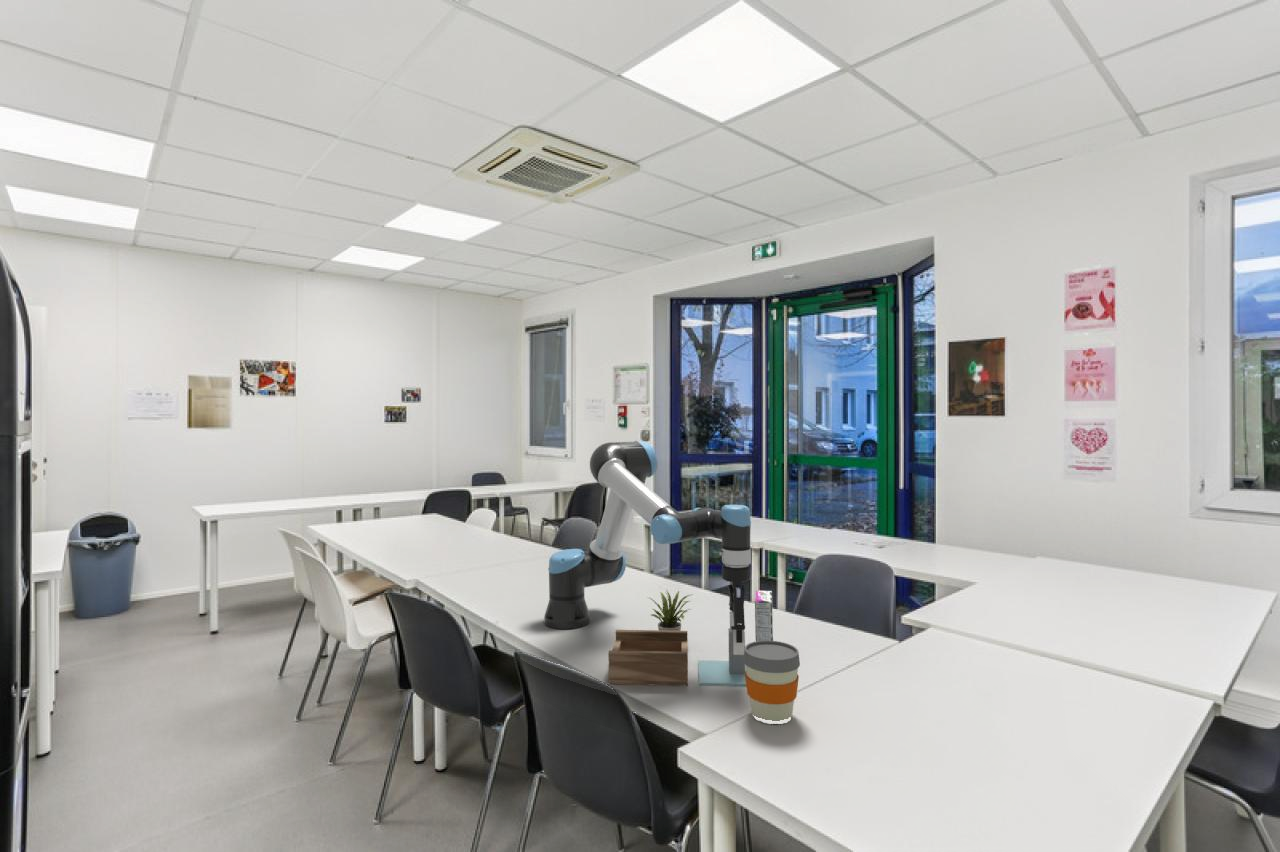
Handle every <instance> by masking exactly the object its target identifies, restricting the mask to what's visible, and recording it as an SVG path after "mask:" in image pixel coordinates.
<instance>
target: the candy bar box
mask: <svg viewBox="0 0 1280 852" xmlns="http://www.w3.org/2000/svg"><path fill="white" fill-rule="evenodd" d="M773 615H774V613H773V591H772V590H756V591H755V599H754V619H755V620H754V621H755V622H754V623H755V626H754V627H755V642H756V641H774V627H773V626H774V625H773V623H774V622H773V621H774V618H773Z"/></svg>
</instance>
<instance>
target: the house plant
mask: <svg viewBox="0 0 1280 852" xmlns="http://www.w3.org/2000/svg"><path fill="white" fill-rule="evenodd" d="M665 590H666V591H665V594H666V596H665V594H664V593H663V592H660V596H661V600H662V601H661V602H662V607H661V605H660V604H659V603H657V601H655V600H654V599H653V598H651V597H648V596H647V598H648V599H649V600H650V601H652V602H654V603H655V605H656V606H657V607H658V609H659V610H660V611H658V610H656V609H655V608H652V610H653V611H654V612H655V614H653V613H652V614H650V616H651V617H655V618H657V619H658V620H659V621H660V622H658V623H657V630H662V631H682V620H684V619H685V615H684V614H685V613H689V612H688V611H690V610H691V608H688V609H686V610H684V609H682V608H683V607H684V606H685V605H686V604H687V603H689V602H690V600H685V599H687V598H688V597H690V596H694V594H687V595H685V596H684V597H682V598H681V599H680V601H679V602H678V599H679V595H680V590H678V591H677V592H676V593H675V596H674V598H673V599H672V598H671V594H670V593H669V591H668V590H667V589H665ZM666 597H667V598H666ZM677 602H678V603H677ZM682 603H683V604H682ZM681 604H682V605H681ZM679 607H680V608H679ZM677 610H678V611H677ZM680 613H681V614H680ZM679 614H680V615H679ZM678 615H679V616H678ZM680 618H681V619H682V620H681V619H680Z"/></svg>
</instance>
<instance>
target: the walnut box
mask: <svg viewBox="0 0 1280 852" xmlns="http://www.w3.org/2000/svg"><path fill="white" fill-rule="evenodd" d="M688 642H689V641H688V630H681V631H662V630H658V629H657V630H653V629H651V630H650V629H649V630H648V629H616V630H615V640H614V643H613V647H612V650H610V649H609V651H608V681H609V682H608V685H632V686H633V685H635V686H637V685H638V686H639V685H640V686H643V685H645V686H679V685H686V687H687V686H688V684H689V683H688V681H689V678H688V675H689V674H688V673H689V672H688V671H689V670H688V669H689V666H688V665H689V661H688V660H689V659H688V657H689V656H688V655H689V654H688V651H689V650H688V646H689V643H688Z"/></svg>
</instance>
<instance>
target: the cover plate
mask: <svg viewBox="0 0 1280 852" xmlns="http://www.w3.org/2000/svg"><path fill="white" fill-rule="evenodd" d="M745 635H746V633H745V631H744V649H745V646H746V639H745V638H746V636H745ZM743 659H744V655H734V654H733V630H731V628H730V627H728V660H707V659H706V660H701V659H699V660H698V661H697V662H698V664H697V665H698V685H699V686H712V685H730V686H729V687H746V680H745V671H746V667H745V663H744V661H743ZM732 685H733V686H732Z"/></svg>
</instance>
